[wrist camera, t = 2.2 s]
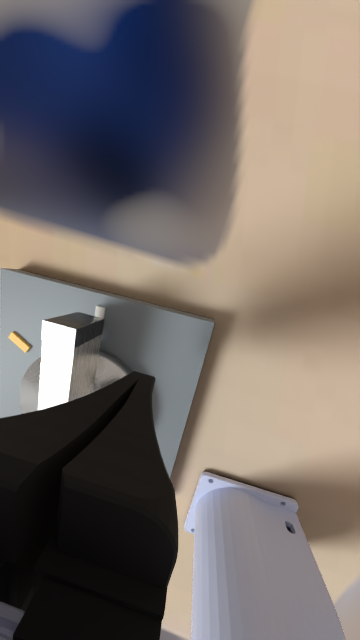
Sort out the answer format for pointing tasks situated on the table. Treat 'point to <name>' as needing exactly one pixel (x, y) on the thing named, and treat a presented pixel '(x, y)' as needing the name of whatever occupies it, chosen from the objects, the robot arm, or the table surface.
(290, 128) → the table surface
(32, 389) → the dial
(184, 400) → the dial plate
